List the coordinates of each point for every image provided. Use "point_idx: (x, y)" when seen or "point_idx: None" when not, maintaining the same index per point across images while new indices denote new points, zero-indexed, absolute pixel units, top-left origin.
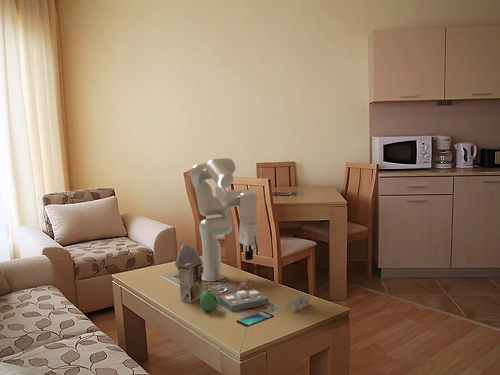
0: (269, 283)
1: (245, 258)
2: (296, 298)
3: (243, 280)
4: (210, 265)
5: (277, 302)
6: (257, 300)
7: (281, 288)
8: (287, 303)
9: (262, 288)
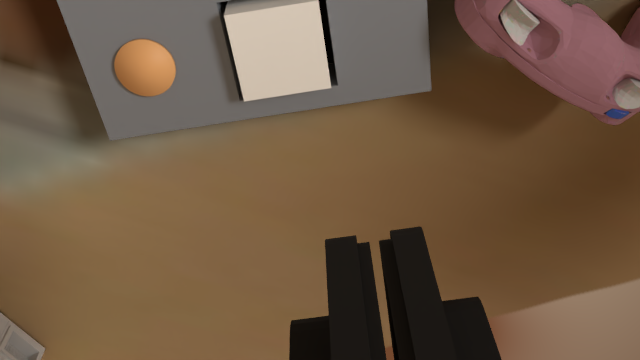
0: (595, 265)
1: (404, 241)
2: None
3: (596, 40)
4: None
5: (128, 187)
6: (65, 17)
7: None
8: (85, 244)
9: (518, 183)
